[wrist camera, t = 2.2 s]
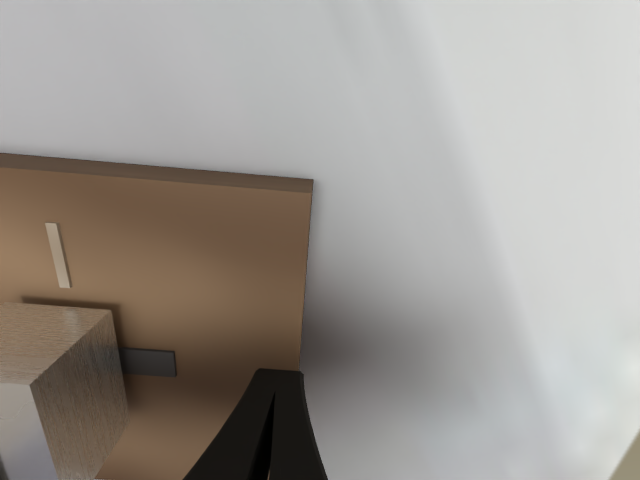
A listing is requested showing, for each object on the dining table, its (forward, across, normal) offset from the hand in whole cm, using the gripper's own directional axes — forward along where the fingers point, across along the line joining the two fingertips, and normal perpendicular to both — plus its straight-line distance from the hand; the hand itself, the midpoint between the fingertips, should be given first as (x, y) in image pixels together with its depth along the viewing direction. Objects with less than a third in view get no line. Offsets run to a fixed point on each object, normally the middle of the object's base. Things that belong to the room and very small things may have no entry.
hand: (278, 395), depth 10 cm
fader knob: (+1, +6, 0) cm, 7 cm away
